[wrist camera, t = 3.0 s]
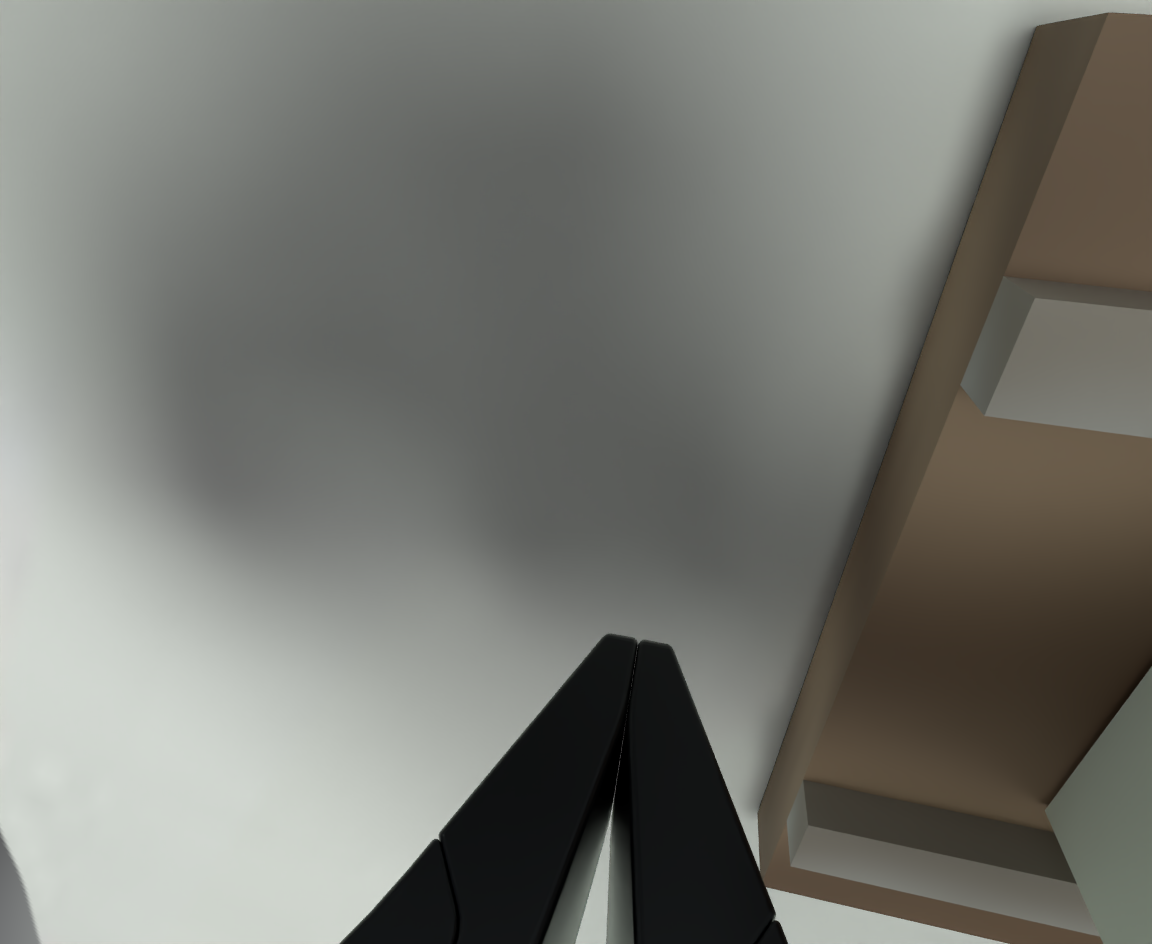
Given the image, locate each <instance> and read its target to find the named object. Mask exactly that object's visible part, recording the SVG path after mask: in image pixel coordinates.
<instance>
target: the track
mask: <svg viewBox="0 0 1152 944" xmlns="http://www.w3.org/2000/svg"><path fill="white" fill-rule="evenodd" d="M1151 667H1152V15H1144V14H1126V13H1104V14H1098V15H1093V16H1087V17H1082V18H1077V19H1071V20H1066V21H1061V22H1055V23H1050V24H1045V25H1039V26H1037V27H1036V30H1035V33H1034V36H1033V38H1032V41H1031V44H1030V47H1029V50H1028V53H1027V55H1026V58H1025V61H1024V64H1023V67H1022V69H1021V72H1020V75H1019V78H1018V81H1017V84H1016V86H1015V89H1014V92H1013V95H1012V98H1011V100H1010V103H1009V106H1008V109H1007V112H1006V115H1005V117H1004V120H1003V123H1002V126H1001V129H1000V132H999V134H998V137H997V140H996V143H995V146H994V148H993V151H992V154H991V157H990V160H989V163H988V165H987V168H986V171H985V174H984V177H983V179H982V182H981V185H980V188H979V191H978V194H977V196H976V199H975V202H974V205H973V208H972V210H971V213H970V216H969V219H968V222H967V225H966V227H965V230H964V233H963V236H962V239H961V241H960V244H959V247H958V250H957V253H956V256H955V258H954V261H953V264H952V267H951V270H950V272H949V275H948V278H947V281H946V284H945V287H944V289H943V292H942V295H941V298H940V301H939V303H938V306H937V309H936V312H935V315H934V318H933V320H932V323H931V326H930V329H929V332H928V334H927V337H926V340H925V343H924V346H923V349H922V351H921V354H920V357H919V360H918V363H917V365H916V368H915V371H914V374H913V377H912V380H911V382H910V385H909V388H908V391H907V394H906V396H905V399H904V402H903V405H902V408H901V411H900V413H899V416H898V419H897V422H896V425H895V427H894V430H893V433H892V436H891V439H890V442H889V444H888V447H887V450H886V453H885V456H884V458H883V461H882V464H881V467H880V470H879V473H878V475H877V478H876V481H875V484H874V487H873V489H872V492H871V495H870V498H869V501H868V504H867V506H866V509H865V512H864V515H863V518H862V521H861V523H860V526H859V529H858V532H857V535H856V537H855V540H854V543H853V546H852V549H851V552H850V554H849V557H848V560H847V563H846V566H845V568H844V571H843V574H842V577H841V580H840V583H839V585H838V588H837V591H836V594H835V597H834V599H833V602H832V605H831V608H830V611H829V614H828V616H827V619H826V622H825V625H824V628H823V630H822V633H821V636H820V639H819V642H818V645H817V647H816V650H815V653H814V656H813V659H812V661H811V664H810V667H809V670H808V673H807V676H806V678H805V681H804V684H803V687H802V690H801V692H800V695H799V698H798V701H797V704H796V707H795V709H794V712H793V715H792V718H791V721H790V723H789V726H788V729H787V732H786V735H785V738H784V740H783V743H782V746H781V749H780V752H779V754H778V757H777V760H776V763H775V766H774V769H773V771H772V774H771V777H770V780H769V783H768V785H767V788H766V791H765V794H764V797H763V800H762V802H761V805H760V808H759V811H758V835H759V857H760V874H761V876H762V879H763V881H764V884H765V887H768V888H772V889H777V890H781V891H785V892H789V893H794V894H798V895H802V896H807V897H811V898H815V899H819V900H824V901H828V902H832V903H837V904H841V905H845V906H850V907H854V908H858V909H862V910H867V911H871V912H875V913H880V914H884V915H888V916H893V917H897V918H901V919H905V920H910V921H914V922H918V923H923V924H927V925H931V926H936V927H940V928H944V929H948V930H953V931H957V932H961V933H966V934H970V935H974V936H979V937H983V938H987V939H991V940H996V941H1000V942H1004V943H1009V944H1103V942H1102V940H1101V938H1100V935H1099V933H1098V931H1097V928H1096V926H1095V924H1094V922H1093V919H1092V917H1091V915H1090V913H1089V910H1088V908H1087V906H1086V903H1085V901H1084V899H1083V897H1082V894H1081V892H1080V890H1079V888H1078V885H1077V883H1076V881H1075V878H1074V876H1073V874H1072V872H1071V869H1070V867H1069V865H1068V862H1067V860H1066V858H1065V856H1064V853H1063V851H1062V849H1061V847H1060V844H1059V842H1058V840H1057V837H1056V835H1055V833H1054V831H1053V828H1052V826H1051V824H1050V822H1049V819H1048V817H1047V815H1046V812H1045V809H1046V808H1047V807H1048V805H1049V804H1050V803H1051V801H1052V800H1053V799H1054V797H1055V796H1056V795H1057V793H1058V792H1059V791H1060V789H1061V788H1062V787H1063V785H1064V784H1065V782H1066V781H1067V780H1068V778H1069V777H1070V776H1071V774H1072V773H1073V772H1074V770H1075V769H1076V768H1077V766H1078V765H1079V764H1080V762H1081V761H1082V760H1083V758H1084V757H1085V756H1086V754H1087V753H1088V752H1089V750H1090V749H1091V747H1092V746H1093V745H1094V743H1095V742H1096V741H1097V739H1098V738H1099V737H1100V735H1101V734H1102V733H1103V731H1104V730H1105V729H1106V727H1107V726H1108V725H1109V723H1110V722H1111V721H1112V719H1113V718H1114V717H1115V715H1116V714H1117V712H1118V711H1119V710H1120V708H1121V707H1122V706H1123V704H1124V703H1125V702H1126V700H1127V699H1128V698H1129V696H1130V695H1131V694H1132V692H1133V691H1134V690H1135V688H1136V687H1137V686H1138V684H1139V683H1140V682H1141V680H1142V679H1143V677H1144V676H1145V675H1146V673H1147V672H1148V671H1149V669H1150V668H1151Z"/></svg>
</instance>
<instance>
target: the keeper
mask: <svg viewBox="0 0 1152 944" xmlns="http://www.w3.org/2000/svg"><path fill="white" fill-rule="evenodd" d="M1045 812H1046V815H1047V817H1048V819H1049V822H1050V824H1051V826H1052V828H1053V831H1054V833H1055V835H1056V837H1057V840H1058V842H1059V844H1060V847H1061V849H1062V851H1063V853H1064V856H1065V858H1066V860H1067V862H1068V865H1069V867H1070V869H1071V872H1072V874H1073V876H1074V878H1075V881H1076V883H1077V885H1078V888H1079V890H1080V892H1081V894H1082V897H1083V899H1084V901H1085V903H1086V906H1087V908H1088V910H1089V913H1090V915H1091V917H1092V919H1093V922H1094V924H1095V926H1096V928H1097V931H1098V933H1099V935H1100V938H1101V940H1102V942H1103V944H1152V667H1151V668H1150V669H1149V671H1148V672H1147V673H1146V675H1145V676H1144V677H1143V679H1142V680H1141V682H1140V683H1139V684H1138V686H1137V687H1136V688H1135V690H1134V691H1133V692H1132V694H1131V695H1130V696H1129V698H1128V699H1127V700H1126V702H1125V703H1124V704H1123V706H1122V707H1121V708H1120V710H1119V711H1118V712H1117V714H1116V715H1115V717H1114V718H1113V719H1112V721H1111V722H1110V723H1109V725H1108V726H1107V727H1106V729H1105V730H1104V731H1103V733H1102V734H1101V735H1100V737H1099V738H1098V739H1097V741H1096V742H1095V743H1094V745H1093V746H1092V747H1091V749H1090V750H1089V752H1088V753H1087V754H1086V756H1085V757H1084V758H1083V760H1082V761H1081V762H1080V764H1079V765H1078V766H1077V768H1076V769H1075V770H1074V772H1073V773H1072V774H1071V776H1070V777H1069V778H1068V780H1067V781H1066V782H1065V784H1064V785H1063V787H1062V788H1061V789H1060V791H1059V792H1058V793H1057V795H1056V796H1055V797H1054V799H1053V800H1052V801H1051V803H1050V804H1049V805H1048V807H1047V808H1046V809H1045Z"/></svg>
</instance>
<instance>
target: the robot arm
mask: <svg viewBox="0 0 1152 944" xmlns="http://www.w3.org/2000/svg"><path fill="white" fill-rule="evenodd" d="M637 646H638V648H637ZM636 652H637V655H636ZM635 659H636V661H635ZM634 666H635V667H634ZM633 672H634V674H633ZM632 679H633V680H632ZM631 685H632V686H631ZM630 691H631V692H630ZM629 698H630V699H629ZM628 704H629V705H628ZM626 717H627V718H626ZM625 723H626V724H625ZM624 730H625V731H624ZM623 736H624V737H623ZM622 742H623V744H622ZM621 749H622V750H621ZM620 755H621V757H620ZM619 761H620V764H619ZM618 768H619V770H618ZM617 774H618V777H617ZM616 780H617V783H616ZM615 787H616V790H615ZM614 793H615V796H614ZM613 799H614V804H613ZM612 804H613V812H612V822H611V836H610V861H609V887H608V913H607V938H606V944H788V942H787V940H786V937H785V934H784V932H783V929H782V927H781V924H780V923H779V922H778V921H776V920H774V919H775V916H776V912H775V910H774V907H773V905H772V902H771V899H770V897H769V894H768V892H767V889H766V887H765V884H764V881H763V879H762V876H761V874H760V871H759V869H758V866H757V863H756V861H755V858H754V856H753V853H752V851H751V848H750V845H749V843H748V840H747V838H746V835H745V833H744V830H743V827H742V825H741V822H740V820H739V817H738V815H737V812H736V809H735V807H734V804H733V802H732V799H731V797H730V794H729V791H728V789H727V786H726V784H725V781H724V779H723V776H722V773H721V771H720V768H719V766H718V763H717V761H716V758H715V755H714V753H713V750H712V748H711V745H710V743H709V740H708V737H707V735H706V732H705V730H704V727H703V725H702V722H701V719H700V717H699V714H698V712H697V709H696V707H695V704H694V701H693V699H692V696H691V694H690V691H689V689H688V686H687V683H686V681H685V678H684V676H683V673H682V671H681V668H680V665H679V663H678V660H677V658H676V655H675V653H674V650H673V649H672V647H671V646H670V645H668V644H664V643H658V642H653V641H648V640H642V641H640V642H639V644H638V643H637V640H636V639H635V638H632V637H627V636H621V635H616V634H606V635H605V636H604V637H603V638H602V639H601V640H600V641H599V642H598V643H597V645H596V646H595V647H594V648H593V649H592V651H591V652H590V653H589V654H588V655H587V657H586V658H585V659H584V660H583V661H582V663H581V664H580V665H579V666H578V667H577V669H576V670H575V671H574V672H573V673H572V675H571V676H570V677H569V678H568V679H567V681H566V682H565V683H564V684H563V685H562V687H561V688H560V689H559V690H558V691H557V693H556V694H555V695H554V696H553V697H552V699H551V700H550V701H549V702H548V703H547V705H546V706H545V707H544V708H543V709H542V710H541V712H540V713H539V714H538V715H537V716H536V718H535V719H534V720H533V721H532V722H531V724H530V725H529V726H528V727H527V728H526V730H525V731H524V732H523V733H522V734H521V736H520V737H519V738H518V739H517V740H516V742H515V743H514V744H513V745H512V746H511V748H510V749H509V750H508V751H507V752H506V754H505V755H504V756H503V757H502V758H501V760H500V761H499V762H498V763H497V764H496V766H495V767H494V768H493V769H492V770H491V772H490V773H489V774H488V775H487V776H486V778H485V779H484V780H483V781H482V782H481V783H480V785H479V786H478V787H477V788H476V789H475V791H474V792H473V793H472V794H471V795H470V797H469V798H468V799H467V800H466V801H465V803H464V804H463V805H462V806H461V807H460V809H459V810H458V811H457V812H456V813H455V815H454V816H453V817H452V818H451V819H450V821H449V822H448V823H447V824H446V825H445V827H444V828H443V829H442V830H441V831H440V833H439V840H438V839H434V840H432V842H431V843H430V844H429V845H428V846H427V848H426V849H425V850H424V851H423V852H422V854H421V855H420V856H419V857H418V858H417V860H416V861H415V862H414V863H413V864H412V866H411V867H410V868H409V869H408V870H407V871H406V872H405V874H404V875H403V876H402V877H401V878H400V879H399V880H398V882H397V883H396V884H395V885H394V886H393V887H392V888H391V889H390V891H389V892H388V893H387V894H386V895H385V896H384V897H383V898H382V900H381V901H380V902H379V903H378V904H377V905H376V906H375V907H374V909H373V910H372V911H371V912H370V913H369V914H368V915H367V916H366V917H365V918H364V919H363V920H362V921H361V922H360V923H359V924H358V925H357V926H356V927H355V928H354V929H353V930H352V931H351V932H350V933H349V934H348V935H347V936H346V937H345V938H344V939H343V940H342V941H341V942H340V944H575V942H576V938H577V935H578V931H579V928H580V924H581V921H582V917H583V914H584V910H585V907H586V903H587V899H588V896H589V892H590V889H591V885H592V882H593V878H594V875H595V871H596V868H597V864H598V860H599V857H600V853H601V850H602V846H603V843H604V839H605V835H606V831H607V827H608V823H609V820H610V815H611V810H612Z"/></svg>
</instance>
